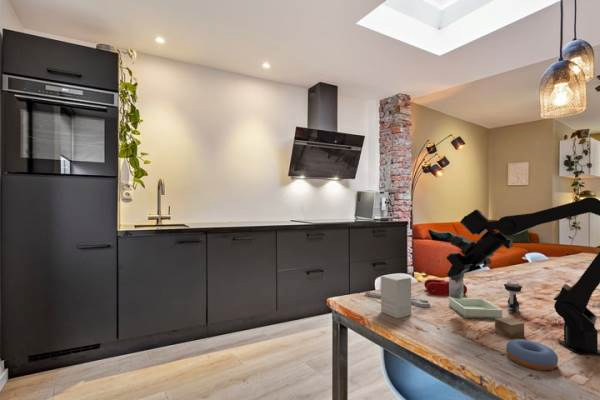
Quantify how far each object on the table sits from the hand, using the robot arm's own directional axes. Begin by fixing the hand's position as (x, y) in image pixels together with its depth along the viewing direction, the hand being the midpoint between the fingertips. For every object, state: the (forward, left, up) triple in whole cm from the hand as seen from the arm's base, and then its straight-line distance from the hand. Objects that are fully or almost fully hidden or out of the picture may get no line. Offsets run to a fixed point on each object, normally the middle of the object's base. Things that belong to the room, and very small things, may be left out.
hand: (452, 275), depth 104 cm
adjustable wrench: (+14, +15, -14) cm, 25 cm away
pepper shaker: (-1, -1, -7) cm, 7 cm away
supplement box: (-2, +20, -13) cm, 24 cm away
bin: (+2, -8, -13) cm, 16 cm away
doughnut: (-31, -5, -14) cm, 35 cm away
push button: (+4, -22, -13) cm, 27 cm away
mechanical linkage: (+25, -8, -14) cm, 30 cm away
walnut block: (-16, -9, -13) cm, 23 cm away
